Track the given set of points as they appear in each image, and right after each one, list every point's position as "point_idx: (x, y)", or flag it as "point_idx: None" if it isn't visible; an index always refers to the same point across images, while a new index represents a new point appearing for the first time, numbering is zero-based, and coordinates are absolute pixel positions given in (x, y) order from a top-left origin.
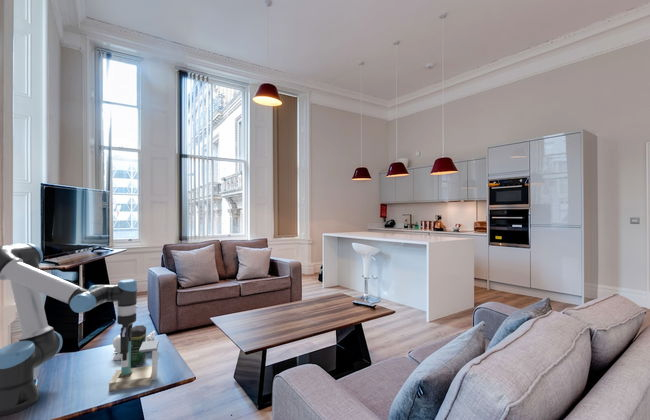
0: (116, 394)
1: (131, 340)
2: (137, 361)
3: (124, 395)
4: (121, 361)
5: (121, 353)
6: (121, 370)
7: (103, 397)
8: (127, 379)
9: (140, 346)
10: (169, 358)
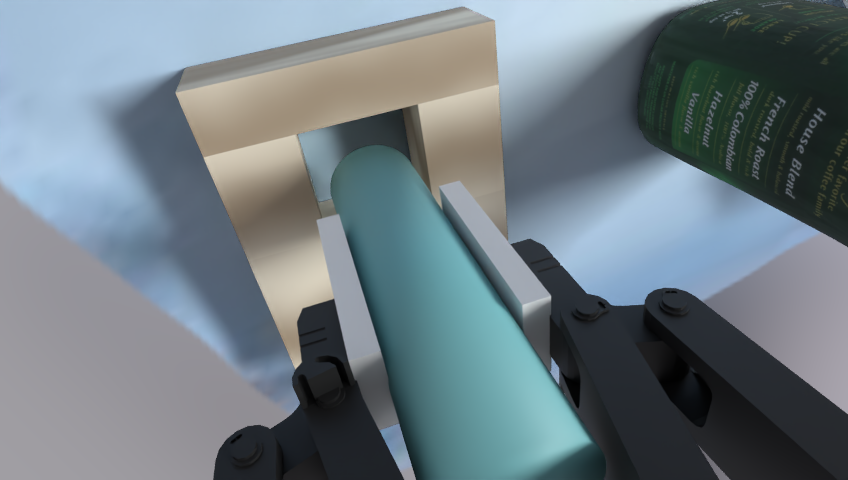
0: (131, 171)
1: (699, 414)
2: (661, 133)
3: (122, 246)
4: (329, 267)
5: (227, 456)
6: (354, 175)
7: (53, 71)
8: (268, 240)
9: (793, 210)
10: (673, 285)
